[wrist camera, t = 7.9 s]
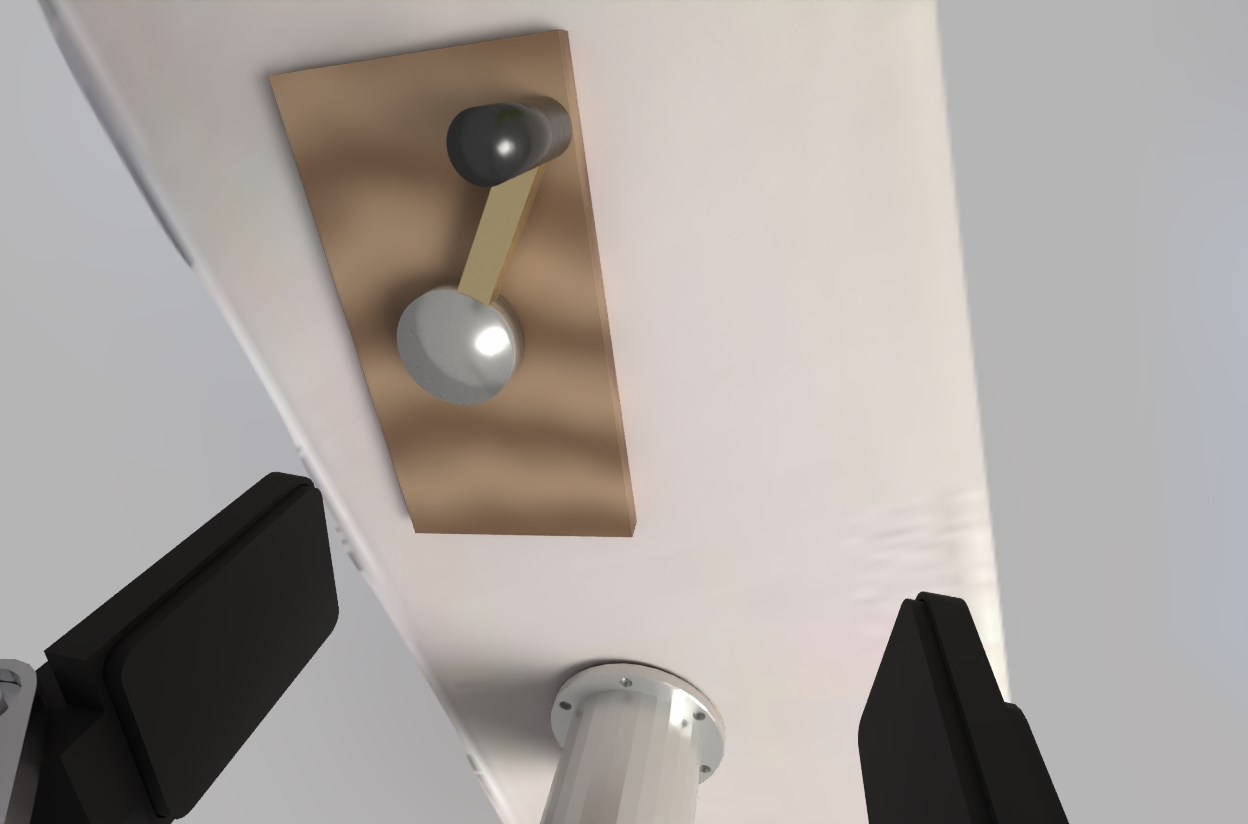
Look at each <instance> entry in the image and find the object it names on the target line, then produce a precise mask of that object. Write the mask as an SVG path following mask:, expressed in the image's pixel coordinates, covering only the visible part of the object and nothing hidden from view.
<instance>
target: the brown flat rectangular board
mask: <svg viewBox="0 0 1248 824" xmlns="http://www.w3.org/2000/svg"><path fill="white" fill-rule="evenodd" d="M268 77H269V80H270V83H271V86H272V89H273V92H274V96H275V99H276V102H277V105H278V108H279V111H280V114H281V117H282V120H283V123H284V127H285V130H286V133H287V136H288V139H289V142H290V145H291V148H292V151H293V154H294V158H295V161H296V164H297V167H298V170H299V173H300V176H301V179H302V182H303V185H304V189H305V192H306V195H307V198H308V201H309V204H310V207H311V210H312V213H313V216H314V220H315V223H316V226H317V229H318V232H319V235H320V238H321V241H322V244H323V248H324V251H325V254H326V257H327V260H328V263H329V266H330V269H331V272H332V275H333V279H334V282H335V285H336V288H337V291H338V294H339V297H340V300H341V303H342V306H343V310H344V313H345V316H346V319H347V322H348V325H349V328H350V331H351V334H352V337H353V341H354V344H355V347H356V350H357V353H358V356H359V359H360V362H361V365H362V368H363V372H364V375H365V378H366V381H367V384H368V387H369V390H370V393H371V396H372V400H373V403H374V406H375V409H376V412H377V415H378V418H379V421H380V424H381V427H382V431H383V434H384V437H385V440H386V443H387V446H388V449H389V452H390V455H391V458H392V462H393V465H394V468H395V471H396V474H397V477H398V480H399V483H400V486H401V489H402V493H403V496H404V499H405V502H406V505H407V508H408V511H409V514H410V517H411V520H412V524H413V527H414V530H415V533H440V534H492V535H544V536H597V537H632V536H633V533H634V529H635V526H636V522H637V521H636V514H635V506H634V499H633V492H632V485H631V478H630V471H629V464H628V457H627V450H626V443H625V436H624V428H623V421H622V414H621V407H620V400H619V393H618V386H617V379H616V372H615V365H614V358H613V350H612V343H611V336H610V329H609V322H608V315H607V308H606V301H605V294H604V287H603V280H602V272H601V265H600V258H599V251H598V244H597V237H596V230H595V223H594V216H593V209H592V202H591V195H590V187H589V180H588V173H587V166H586V159H585V152H584V145H583V138H582V131H581V124H580V117H579V109H578V102H577V95H576V88H575V81H574V74H573V67H572V60H571V53H570V46H569V39H568V31H563V30H554V31H547V32H541V33H535V34H528V35H522V36H516V37H510V38H503V39H497V40H491V41H484V42H478V43H472V44H466V45H459V46H453V47H447V48H440V49H434V50H428V51H422V52H415V53H409V54H403V55H396V56H390V57H384V58H378V59H371V60H365V61H359V62H352V63H346V64H340V65H334V66H327V67H321V68H315V69H308V70H302V71H296V72H290V73H283V74H277V75H271V76H268ZM537 96H547V97H550V98H553V99H555V100H556V101H558V102H559V103H560V104H561V105H562V106H563V107H564V108H565V109H566V111H567V112H568V114H569V117H570V119H571V123H572V138H571V141H570V144H569V146H568V148H567V149H566V151H565V152H564V153H563V154H562V155H560V156H559V157H557V158H555V159H553V160H551V161H549V162H548V164H547V166H546V169H545V172H544V174H543V177H542V180H541V182H540V185H539V188H538V191H537V193H536V196H535V199H534V201H533V204H532V207H531V210H530V212H529V215H528V218H527V220H526V223H525V226H524V229H523V231H522V234H521V237H520V239H519V242H518V245H517V248H516V250H515V253H514V256H513V258H512V261H511V264H510V266H509V269H508V272H507V275H506V277H505V280H504V283H503V285H502V288H501V291H500V295H501V296H502V297H503V298H504V299H505V300H507V302H508V303H509V304H510V305H511V306H512V308H513V309H514V311H515V312H516V314H517V316H518V318H519V319H520V322H521V324H522V327H523V331H524V336H525V352H524V357H523V360H522V363H521V365H520V367H519V368H518V370H517V371H516V373H515V374H514V375H513V376H512V378H511V379H510V380H509V381H508V382H507V384H506V385H505V386H504V387H503V389H502V390H501V391H500V392H499V393H498V394H497V395H495V396H494V397H493V398H491V399H489V400H487V401H485V402H482V403H479V404H474V405H458V404H452V403H449V402H446V401H443V400H441V399H438V398H436V397H435V396H433V395H431V394H429V393H428V392H427V391H425V390H424V389H423V388H422V387H420V386H419V385H418V384H417V383H416V382H415V381H414V379H413V378H412V377H411V376H410V374H409V373H408V371H407V370H406V368H405V366H404V364H403V362H402V360H401V357H400V354H399V351H398V346H397V328H398V323H399V321H400V318H401V316H402V314H403V312H404V310H405V309H406V308H407V307H408V305H410V304H411V303H412V302H413V301H414V300H416V299H417V298H419V297H420V296H422V295H423V294H424V293H426V292H427V291H429V290H430V289H432V288H433V287H435V286H436V285H438V284H441V283H443V282H446V281H450V280H461V278H462V275H463V272H464V269H465V266H466V263H467V260H468V257H469V254H470V251H471V248H472V245H473V242H474V239H475V236H476V233H477V230H478V227H479V223H480V220H481V217H482V214H483V211H484V208H485V205H486V202H487V199H488V196H489V193H490V190H491V187H479V186H476V185H473V184H471V183H469V182H468V181H466V180H465V179H463V178H462V177H461V176H460V175H459V174H458V173H457V171H456V170H455V169H454V167H453V165H452V163H451V161H450V159H449V156H448V152H447V146H446V138H447V132H448V129H449V126H450V124H451V122H452V120H453V119H454V118H455V117H456V116H457V115H458V114H459V113H460V112H461V111H463V110H465V109H468V108H471V107H476V106H482V105H488V104H494V103H500V102H506V101H513V100H519V99H525V98H531V97H537Z"/></svg>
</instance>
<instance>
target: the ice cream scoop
mask: <svg viewBox="0 0 1248 824" xmlns="http://www.w3.org/2000/svg"><path fill="white" fill-rule="evenodd" d="M571 138H572V123H571V119H570V117H569V114H568V112H567V111H566V109H565V108H564V107H563V106H562V105H561V104H560V103H559V102H558V101H556V100H555V99H553V98H550V97H547V96H537V97H531V98H525V99H519V100H513V101H506V102H500V103H494V104H488V105H482V106H476V107H471V108H468V109H465V110H463V111H461V112H460V113H459V114H458V115H457V116H456V117H455V118H454V119H453V120H452V122H451V124H450V126H449V129H448V132H447V138H446V146H447V152H448V156H449V159H450V161H451V163H452V165H453V167H454V169H455V170H456V171H457V173H458V174H459V175H460V176H461V177H462V178H463V179H465V180H466V181H468V182H469V183H471V184H473V185H476V186H479V187H491V190H490V193H489V196H488V199H487V202H486V205H485V208H484V211H483V214H482V217H481V220H480V223H479V227H478V230H477V233H476V236H475V239H474V242H473V245H472V248H471V251H470V254H469V257H468V260H467V263H466V266H465V269H464V272H463V275H462V278H461V280H450V281H446V282H443V283H441V284H438V285H436V286H435V287H433V288H432V289H430V290H429V291H427V292H426V293H424V294H423V295H422V296H420V297H419V298H417V299H416V300H414V301H413V302H412V303H411V304H410V305H408V307H407V308H406V309H405V310H404V312H403V314H402V316H401V318H400V321H399V323H398V328H397V346H398V351H399V354H400V357H401V360H402V362H403V364H404V366H405V368H406V370H407V371H408V373H409V374H410V376H411V377H412V378H413V379H414V381H415V382H416V383H417V384H418V385H419V386H420V387H422V388H423V389H424V390H425V391H427V392H428V393H429V394H431V395H433V396H435V397H436V398H438V399H441V400H443V401H446V402H449V403H452V404H458V405H474V404H479V403H482V402H485V401H487V400H489V399H491V398H493V397H494V396H495V395H497V394H498V393H499V392H500V391H501V390H502V389H503V387H504V386H505V385H506V384H507V382H508V381H509V380H510V379H511V378H512V376H513V375H514V374H515V373H516V371H517V370H518V368H519V367H520V365H521V363H522V360H523V357H524V352H525V336H524V331H523V327H522V324H521V322H520V319H519V318H518V316H517V314H516V312H515V311H514V309H513V308H512V306H511V305H510V304H509V303H508V302H507V300H505V299H504V298H503V297H502V296H501V295H500V291H501V288H502V285H503V283H504V280H505V277H506V275H507V272H508V269H509V266H510V264H511V261H512V258H513V256H514V253H515V250H516V248H517V245H518V242H519V239H520V237H521V234H522V231H523V229H524V226H525V223H526V220H527V218H528V215H529V212H530V210H531V207H532V204H533V201H534V199H535V196H536V193H537V191H538V188H539V185H540V182H541V180H542V177H543V174H544V172H545V169H546V166H547V164H548V162H549V161H551V160H553V159H555V158H557V157H559V156H560V155H562V154H563V153H564V152H565V151H566V149H567V148H568V146H569V144H570V141H571Z"/></svg>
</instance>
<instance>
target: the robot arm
mask: <svg viewBox="0 0 1248 824" xmlns="http://www.w3.org/2000/svg"><path fill="white" fill-rule="evenodd" d="M338 615H339V607H338V600H337V593H336V587H335V580H334V573H333V566H332V560H331V553H330V547H329V539H328V533H327V526H326V519H325V512H324V506H323V499H322V494H321V492H320V490H319V489H317V488H315V487H314V484H313V482H312V481H311V479H309V478H307V477H303V476H297V475H292V474H286V473H281V472H271V473H270V474H268V475H266V476H265V477H264V478H263V479H261V480H260V481H259V482H257V483H256V484H255V485H254V486H252V487H251V488H250V489H249V490H247V491H246V492H245V493H243V494H242V495H241V496H240V497H239V498H237V499H236V500H235V501H233V502H232V503H231V504H229V505H228V506H227V507H226V508H224V509H223V510H222V511H221V512H220V513H218V514H217V515H216V516H214V517H213V518H212V519H210V520H209V521H208V522H207V523H205V524H204V525H203V526H202V527H200V528H199V529H198V530H197V531H195V532H194V533H193V534H191V535H190V536H189V537H188V538H187V539H185V540H184V541H183V542H181V543H180V544H179V545H177V546H176V547H175V548H174V549H172V550H171V551H170V552H169V553H167V554H166V555H165V556H164V557H162V558H161V559H160V560H158V561H157V562H156V563H155V564H153V565H152V566H151V567H150V568H148V569H147V570H146V571H145V572H143V573H142V574H141V575H140V576H138V577H137V578H136V579H134V580H133V581H132V582H131V583H129V584H128V585H127V586H126V587H124V588H123V589H122V590H120V591H119V592H118V593H117V594H115V595H114V596H113V597H112V598H110V599H109V600H108V601H107V602H105V603H104V604H103V605H101V606H100V607H99V608H98V609H96V610H95V611H94V612H93V613H91V614H90V615H89V616H88V617H86V618H85V619H84V620H83V621H81V622H80V623H79V624H78V625H76V626H75V627H74V628H72V629H71V630H70V631H68V632H67V633H66V634H65V635H63V636H62V637H61V638H60V639H58V640H57V641H56V642H55V643H53V644H52V645H51V646H50V647H48V648H47V649H46V650H45V651H44V652H45V655H46V657H47V659H48V661H47V662H46V663H45V664H43V665H42V666H41V667H40V668H38V669H37V670H36V671H34V669H33V668H32V667H31V666H30V665H29V664H27V663H24V662H21V661H19V660H16V659H0V824H171V823H172V822H173V820H174V819H179V818H182V817H184V816H185V815H187V814H188V813H189V812H190V811H191V810H192V808H194V806H195V805H196V804H197V802H198V801H199V800H200V799H201V797H202V796H203V795H204V793H205V792H206V791H207V790H208V789H209V787H210V786H211V785H212V783H213V782H214V781H215V779H216V778H217V777H218V776H219V775H220V773H221V772H222V771H223V770H224V768H225V767H226V766H227V764H228V763H229V762H230V761H231V759H232V758H233V756H235V754H236V753H237V752H238V750H239V749H240V748H241V746H242V745H243V744H244V743H245V742H246V740H247V739H248V738H249V737H250V735H251V734H252V733H253V731H254V730H255V729H256V728H257V726H258V725H259V724H260V722H261V721H262V720H263V719H264V718H265V716H266V715H267V714H268V712H269V711H270V710H271V709H272V707H273V706H274V705H275V704H276V702H277V701H278V700H279V698H280V697H281V696H282V694H283V693H284V692H285V691H286V690H287V688H288V687H289V686H290V685H291V683H292V682H293V681H294V679H295V678H296V677H297V676H298V674H299V673H300V672H301V671H302V669H303V668H304V667H305V666H306V664H307V663H308V662H309V660H310V659H311V658H312V657H313V655H314V654H315V653H316V651H317V650H318V649H319V648H320V646H321V645H322V644H323V643H324V641H325V640H326V639H327V637H328V636H329V635H330V634H331V632H332V631H333V629H334V627H335V625H336V623H337V620H338ZM551 726H552V730H553V734H554V736H555V738H556V740H557V742H558V744H559V746H560V747H561V748H562V752H561V755H560V759H559V762H558V765H557V769H556V772H555V775H554V779H553V782H552V785H551V789H550V792H549V795H548V798H547V802H546V805H545V808H544V812H543V815H542V818H541V822H540V824H694V822H695V812H696V802H697V792H698V784H700V783H702V782H704V781H705V780H707V779H708V778H709V777H711V776H712V775H713V774H714V773H715V771H716V770H717V769H718V767H719V766H720V764H721V761H722V759H723V756H724V747H725V731H724V726H723V723H722V721H721V718H720V716H719V714H718V712H717V711H716V709H715V708H714V706H713V705H712V704H711V703H710V701H709V700H708V699H707V698H706V697H705V696H704V695H703V694H702V693H701V692H699V691H698V690H697V689H695V688H694V687H693V686H691V685H690V684H688V683H687V682H685V681H683V680H681V679H679V678H678V677H676V676H674V675H671V674H669V673H666V672H664V671H661V670H658V669H655V668H650V667H646V666H642V665H634V664H624V663H622V664H605V665H600V666H595V667H591V668H588V669H586V670H583V671H581V672H578V673H577V674H575V675H574V676H572V677H571V678H569V679H568V680H567V681H566V682H565V683H564V684H563V686H562V687H561V688H560V690H559V692H558V694H557V696H556V698H555V701H554V704H553V708H552V711H551ZM858 747H859V754H860V762H861V769H862V776H863V784H864V791H865V798H866V805H867V813H868V820H869V824H1069V822H1068V820H1067V817H1066V815H1065V812H1064V810H1063V807H1062V805H1061V803H1060V800H1059V798H1058V795H1057V793H1056V790H1055V788H1054V785H1053V783H1052V780H1051V778H1050V775H1049V773H1048V771H1047V768H1046V766H1045V763H1044V761H1043V758H1042V756H1041V754H1040V751H1039V748H1038V746H1037V744H1036V741H1035V739H1034V736H1033V734H1032V731H1031V729H1030V726H1029V724H1028V722H1027V719H1026V718H1025V716H1024V714H1023V712H1022V710H1021V709H1020V708H1018V707H1017V706H1016V705H1015V704H1012V703H1007V702H1004V700H1003V698H1002V695H1001V692H1000V690H999V687H998V684H997V682H996V679H995V677H994V674H993V671H992V669H991V666H990V664H989V661H988V658H987V656H986V653H985V650H984V648H983V645H982V643H981V640H980V637H979V635H978V632H977V629H976V627H975V624H974V622H973V619H972V616H971V614H970V611H969V609H968V606H967V604H966V602H965V601H964V600H963V599H961V598H956V597H951V596H945V595H940V594H934V593H929V592H924V591H923V592H920V593H919V594H918V595H917V597H916V599H915V600H912V599H905V600H904V601H903V603H902V605H901V608H900V610H899V613H898V616H897V619H896V622H895V624H894V627H893V630H892V633H891V636H890V638H889V641H888V644H887V647H886V650H885V652H884V655H883V658H882V661H881V664H880V666H879V669H878V672H877V675H876V678H875V680H874V683H873V686H872V689H871V692H870V694H869V697H868V700H867V703H866V706H865V708H864V711H863V714H862V717H861V720H860V724H859V731H858Z"/></svg>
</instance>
